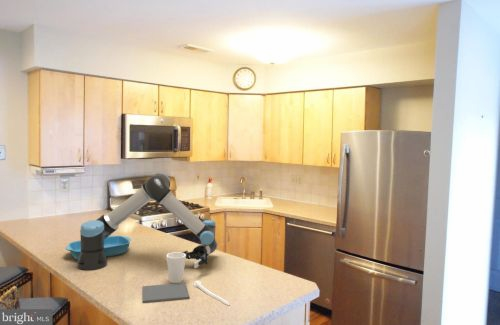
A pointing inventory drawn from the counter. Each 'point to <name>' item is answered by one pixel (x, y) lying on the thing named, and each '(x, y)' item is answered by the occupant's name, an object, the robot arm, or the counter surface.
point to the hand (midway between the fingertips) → (182, 263)
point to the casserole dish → (111, 246)
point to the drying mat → (165, 292)
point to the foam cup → (176, 266)
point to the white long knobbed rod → (198, 284)
